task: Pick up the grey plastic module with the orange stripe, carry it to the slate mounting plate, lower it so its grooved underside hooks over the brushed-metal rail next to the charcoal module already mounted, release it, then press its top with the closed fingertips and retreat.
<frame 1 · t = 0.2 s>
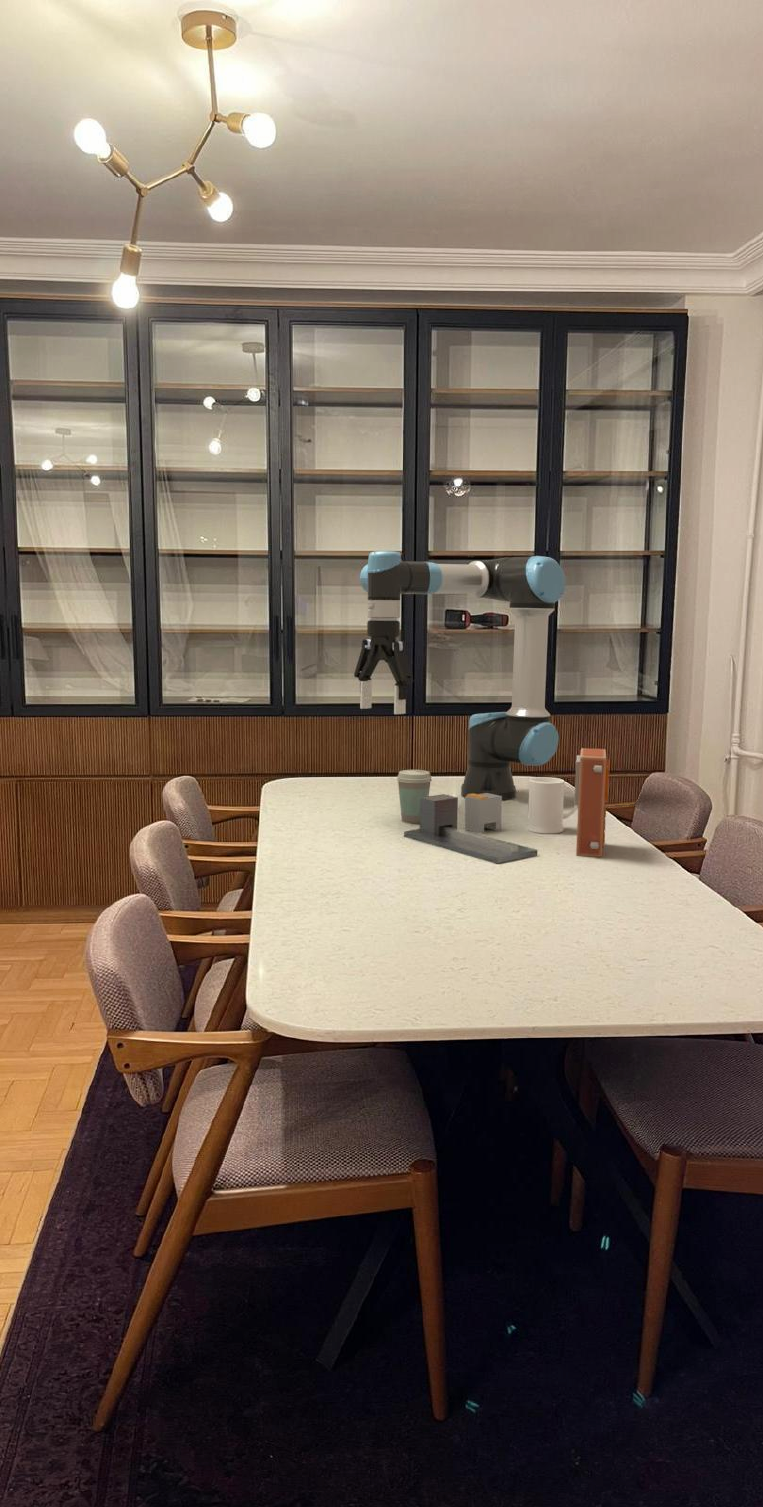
hand: (382, 711, 243), 28 cm above the table, fingers open, 13 cm apart
mug: (551, 830, 245), on the table
module: (482, 829, 245), on the table
coffee cup: (413, 821, 254), on the table
rail board: (468, 845, 229), on the table
control panel: (588, 850, 227), on the table
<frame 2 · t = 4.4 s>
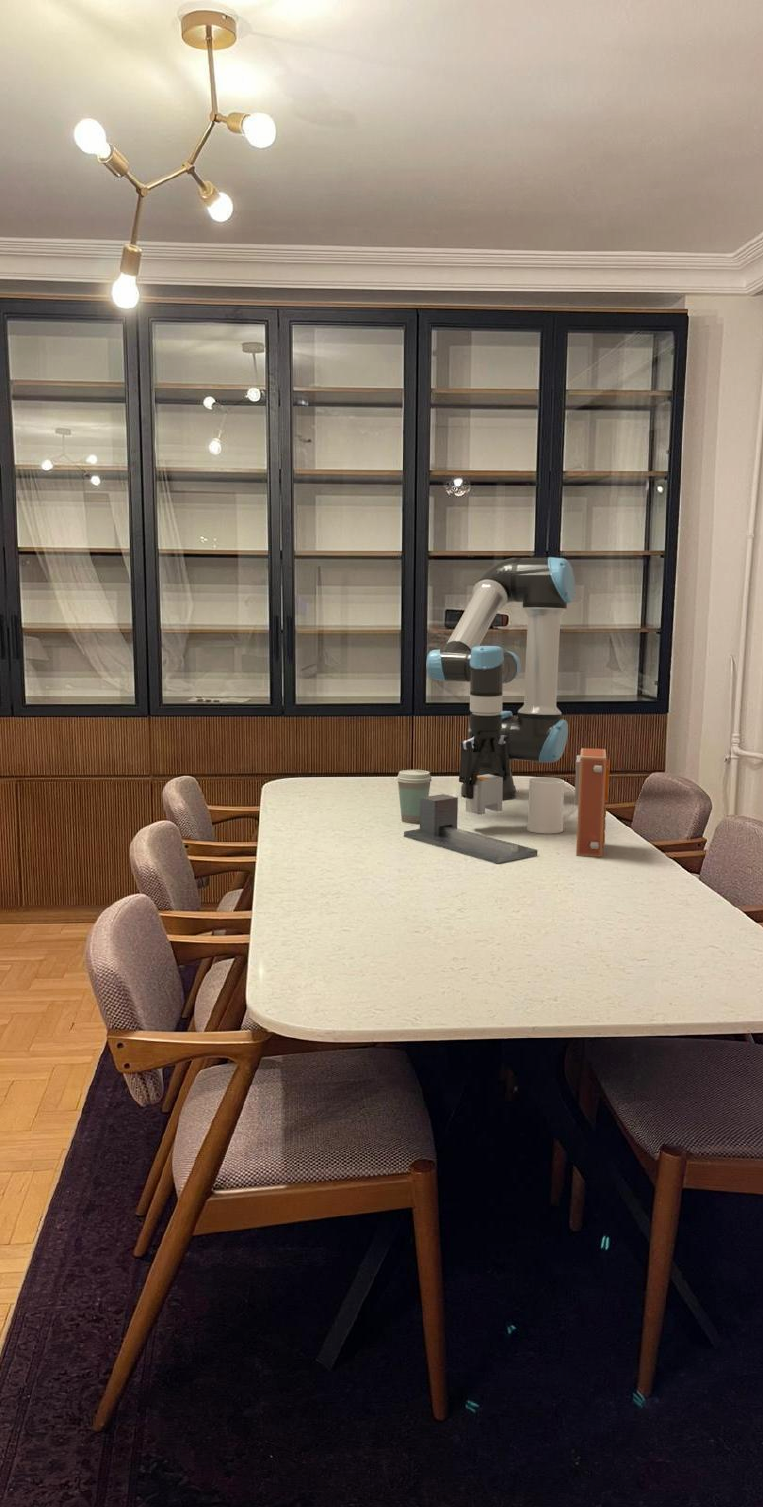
hand: (484, 809, 245), 5 cm above the table, fingers closed on module, 7 cm apart
module: (484, 810, 245), point 4 cm above the table, touching gripper
everything else where it was.
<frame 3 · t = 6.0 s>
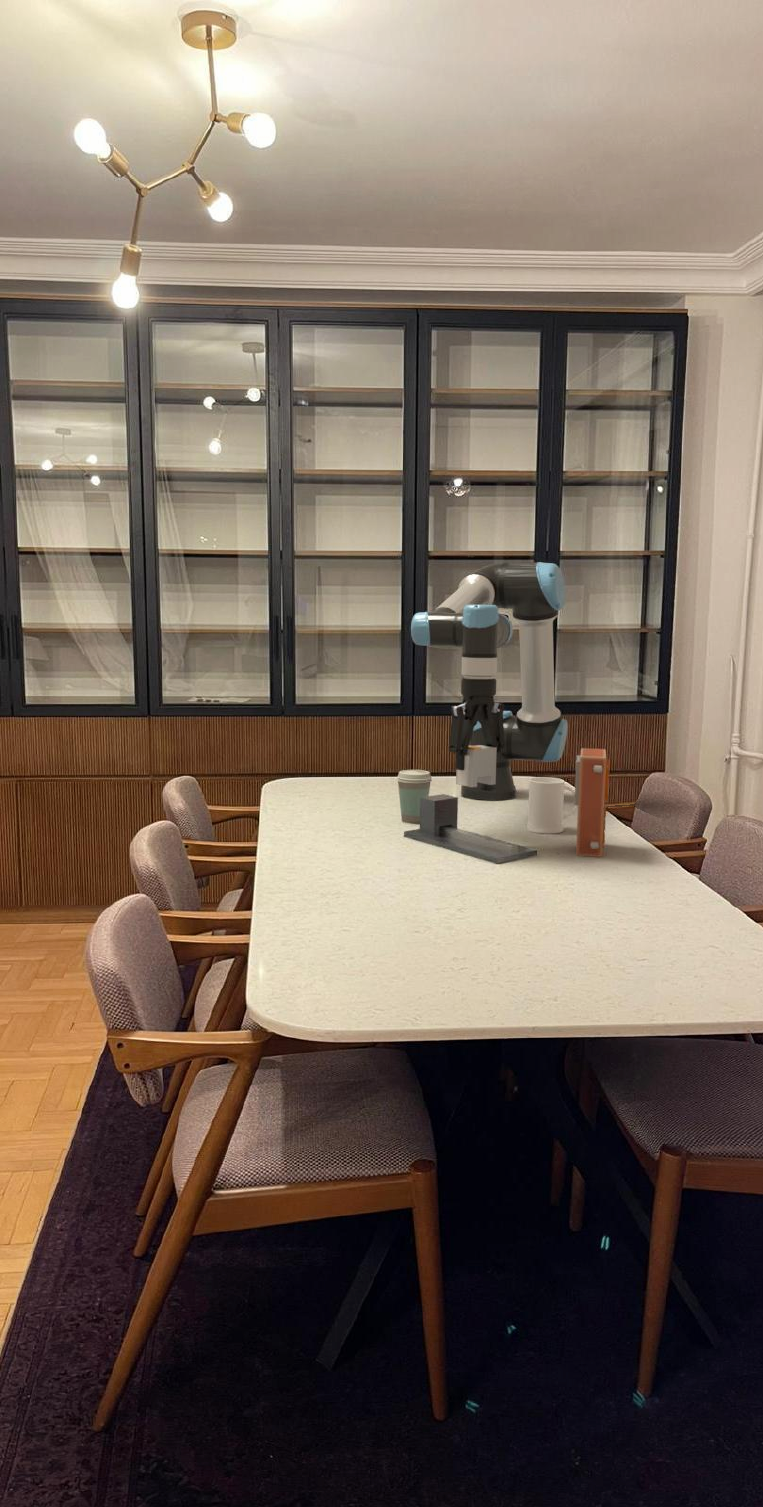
hand: (476, 782, 225), 14 cm above the table, fingers closed on module, 7 cm apart
module: (475, 784, 225), point 14 cm above the table, touching gripper
everything else where it was.
when the fingers open (2 cm above the table, at t = 8.0 s): module stays where it is, resting on rail board.
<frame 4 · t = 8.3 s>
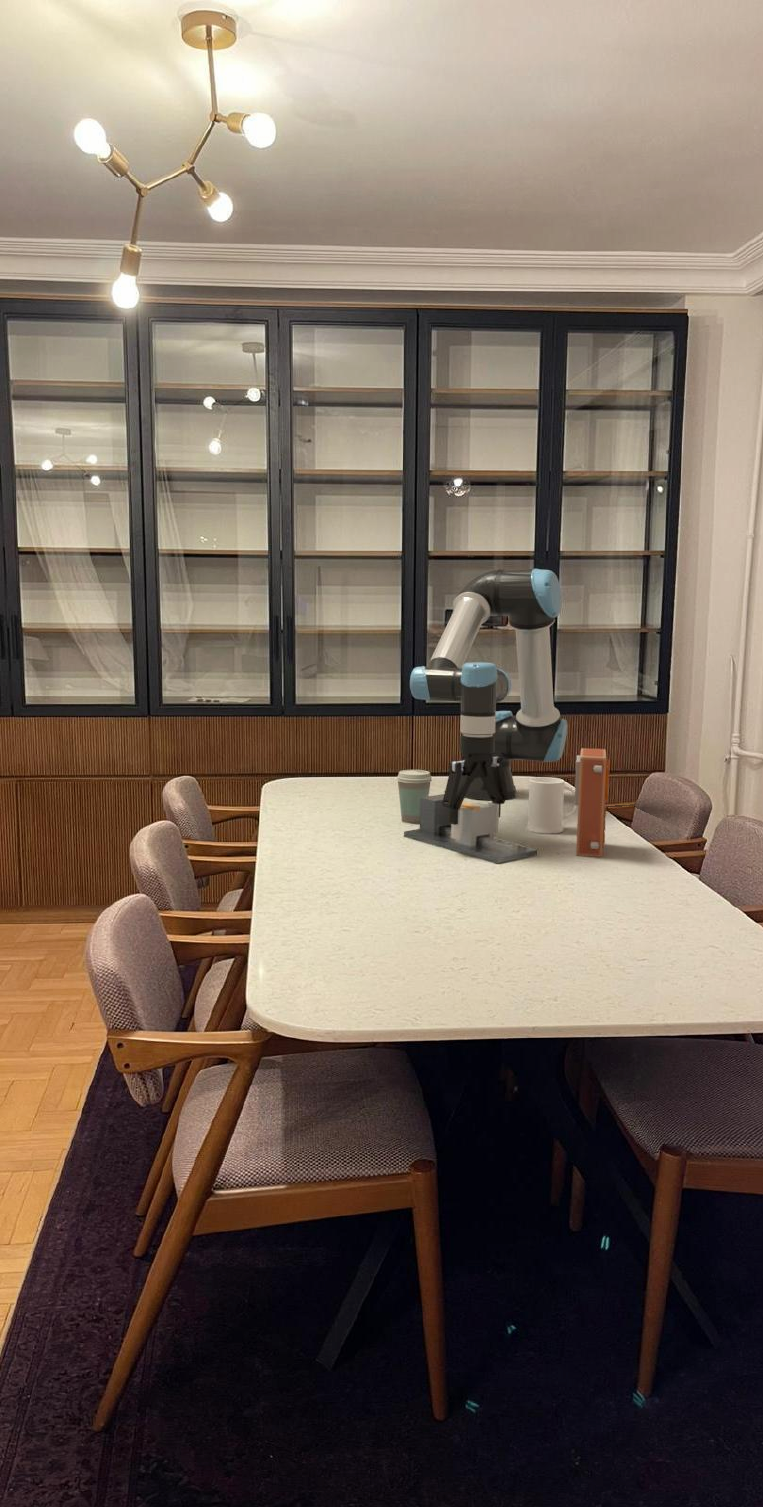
hand: (474, 835, 227), 3 cm above the table, fingers open, 10 cm apart
module: (474, 841, 227), point 1 cm above the table, touching rail board
everything else where it was.
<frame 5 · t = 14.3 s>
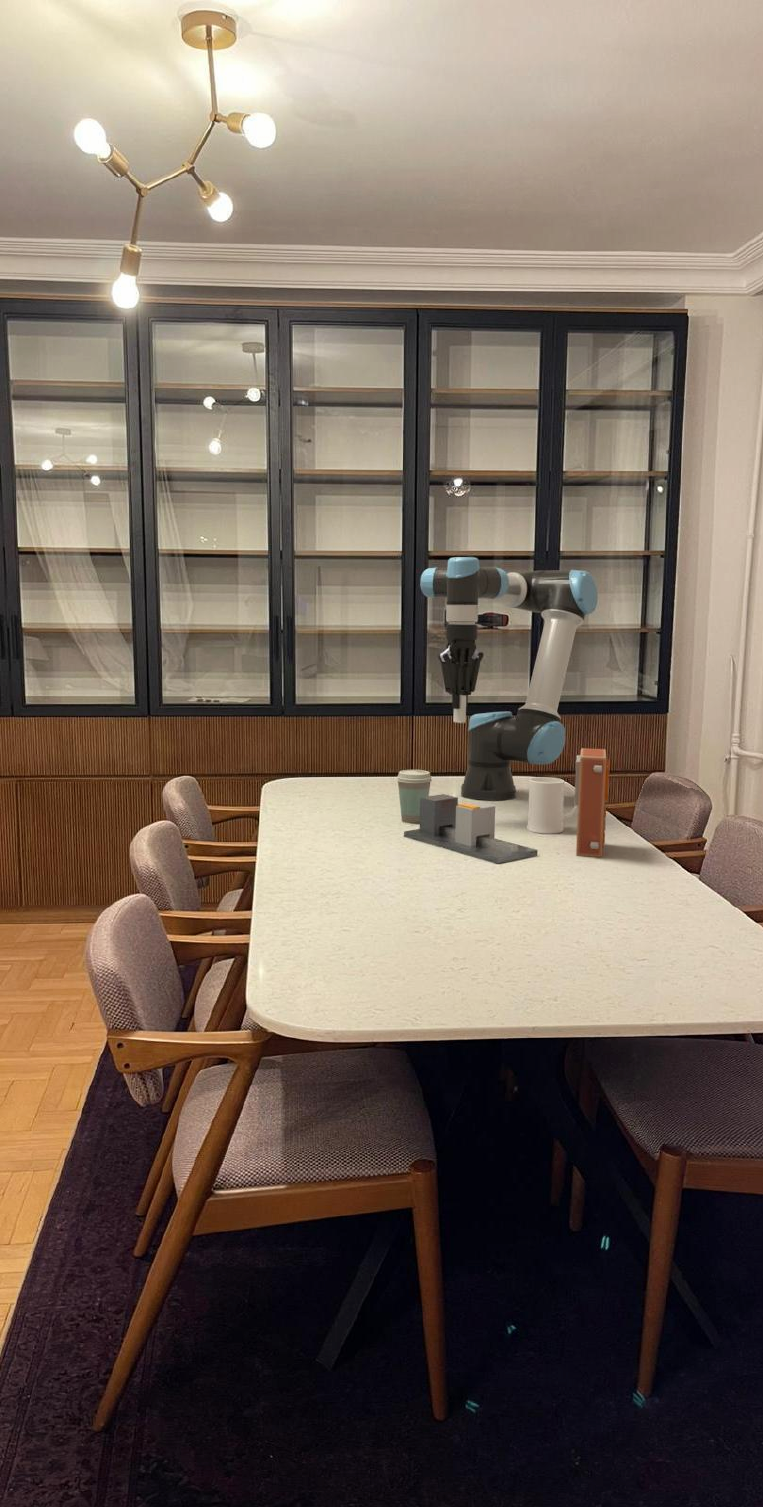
hand: (459, 722, 250), 24 cm above the table, fingers closed
nothing on the table moved.
at the end: module 0.1 cm from the target spot on the rail board, point 1.2 cm above the rail board's base; module tilted 0°; module touching rail board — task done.
